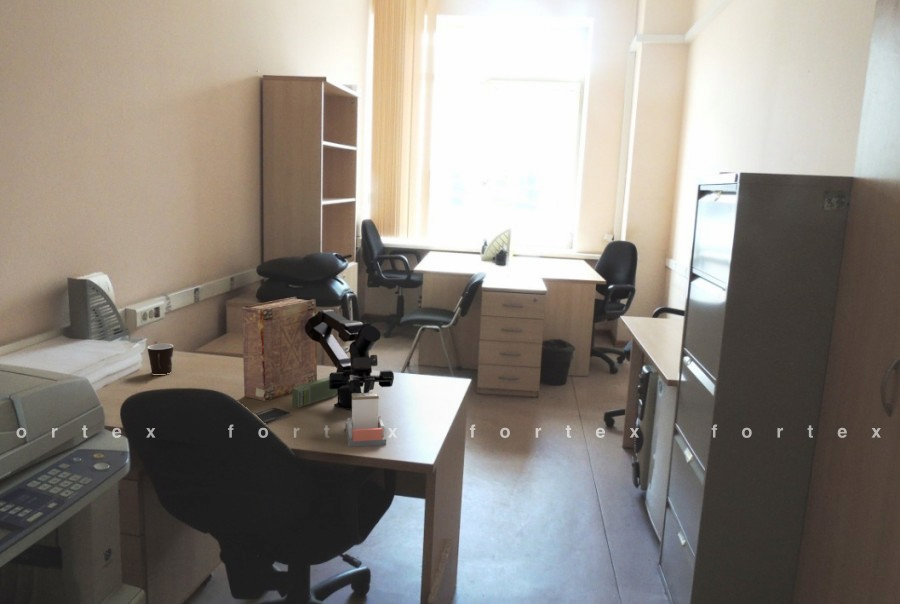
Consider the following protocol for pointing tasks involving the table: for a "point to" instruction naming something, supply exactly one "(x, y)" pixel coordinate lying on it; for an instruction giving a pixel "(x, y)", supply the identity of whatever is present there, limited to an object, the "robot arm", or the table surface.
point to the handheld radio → (312, 392)
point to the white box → (364, 410)
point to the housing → (365, 435)
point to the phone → (272, 415)
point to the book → (277, 347)
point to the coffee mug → (160, 358)
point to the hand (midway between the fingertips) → (363, 405)
